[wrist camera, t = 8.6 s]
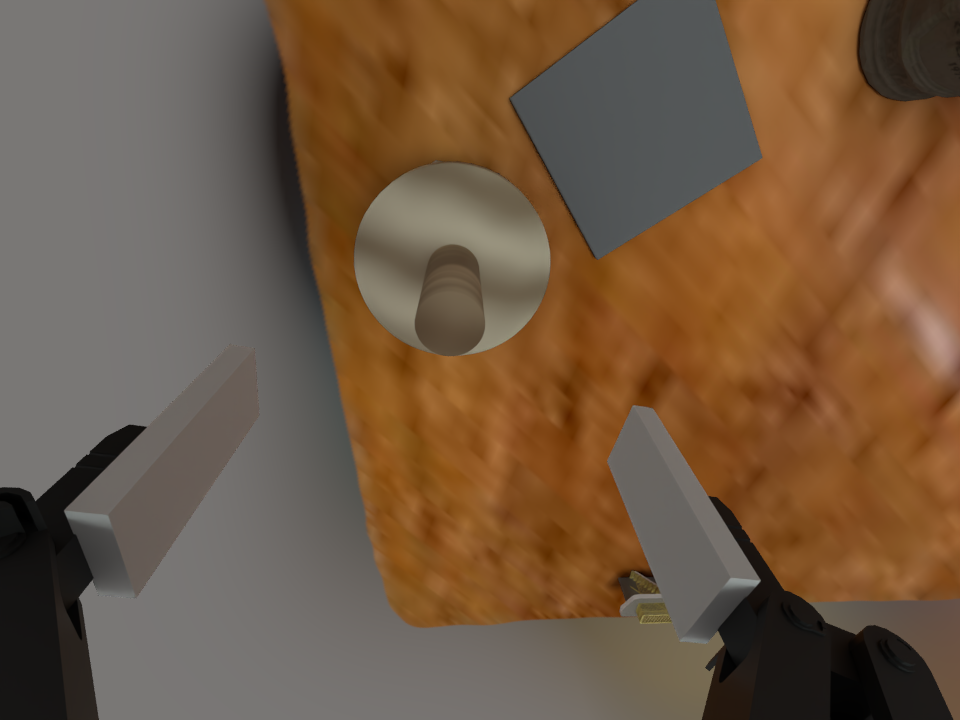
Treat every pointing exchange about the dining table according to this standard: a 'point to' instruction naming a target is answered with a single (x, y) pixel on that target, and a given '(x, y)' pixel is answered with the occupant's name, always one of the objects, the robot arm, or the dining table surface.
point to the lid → (452, 258)
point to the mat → (640, 119)
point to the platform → (642, 598)
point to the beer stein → (912, 48)
